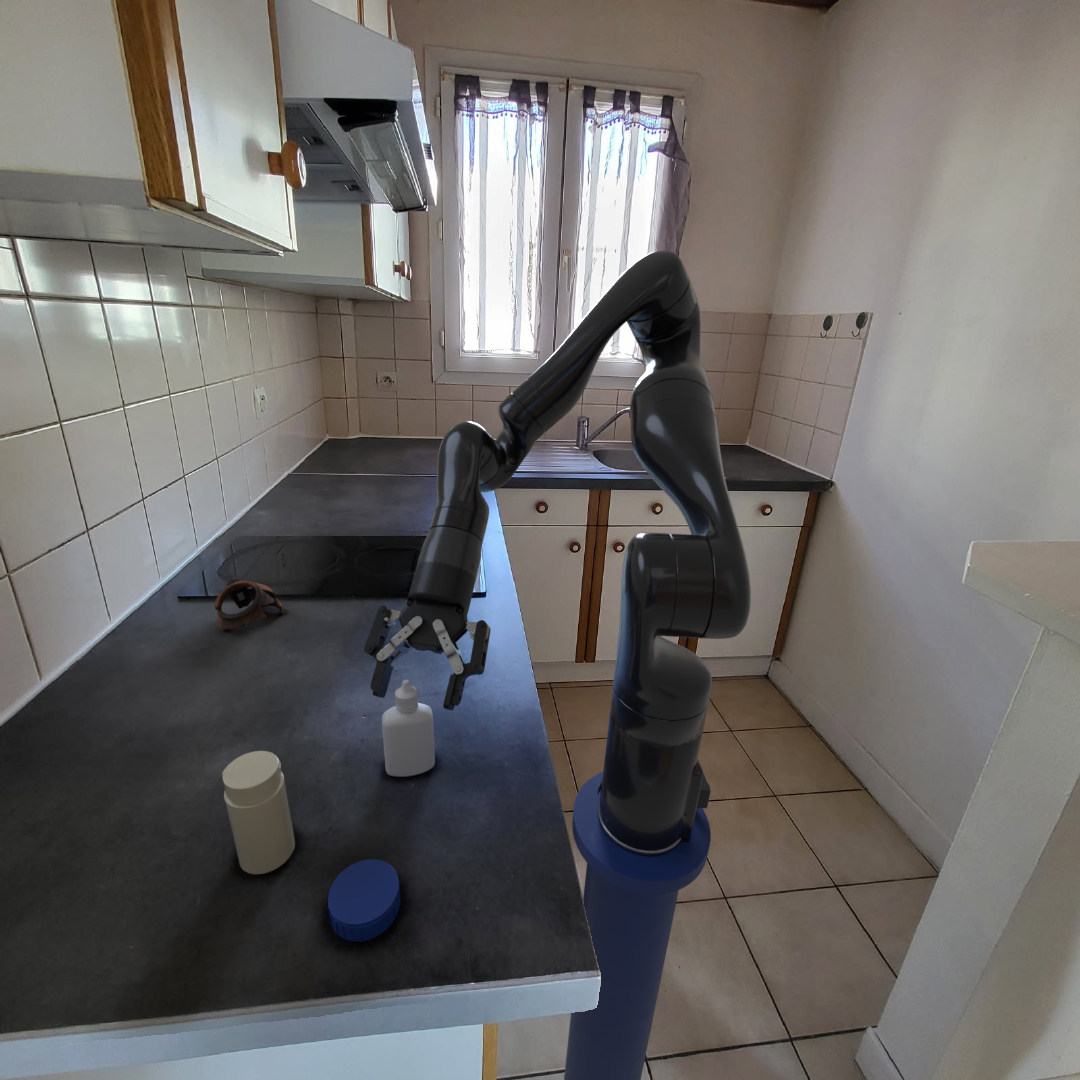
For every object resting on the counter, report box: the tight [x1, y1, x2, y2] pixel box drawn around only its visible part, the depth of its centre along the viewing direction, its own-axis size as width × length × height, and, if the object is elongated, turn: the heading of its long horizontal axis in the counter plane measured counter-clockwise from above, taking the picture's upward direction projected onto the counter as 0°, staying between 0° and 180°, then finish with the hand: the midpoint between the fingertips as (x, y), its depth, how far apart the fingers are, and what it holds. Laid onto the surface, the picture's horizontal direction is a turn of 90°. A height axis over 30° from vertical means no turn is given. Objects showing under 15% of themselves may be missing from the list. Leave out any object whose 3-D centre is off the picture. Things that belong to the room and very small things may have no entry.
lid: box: [327, 858, 402, 943], centre depth 49 cm, size 6×6×2 cm
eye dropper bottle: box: [381, 679, 436, 778], centre depth 63 cm, size 4×6×12 cm
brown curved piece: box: [214, 577, 285, 632], centre depth 93 cm, size 12×10×8 cm
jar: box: [221, 750, 296, 875], centre depth 53 cm, size 5×5×10 cm
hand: (412, 702), depth 64 cm, fingers open, 8 cm apart
